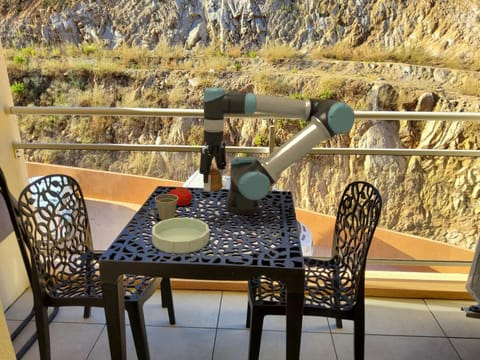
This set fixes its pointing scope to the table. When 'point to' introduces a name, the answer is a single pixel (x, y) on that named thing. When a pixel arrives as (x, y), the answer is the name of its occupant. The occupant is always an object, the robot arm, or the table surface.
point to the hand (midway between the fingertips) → (213, 187)
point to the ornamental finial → (215, 180)
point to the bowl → (180, 235)
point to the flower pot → (166, 206)
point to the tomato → (182, 196)
